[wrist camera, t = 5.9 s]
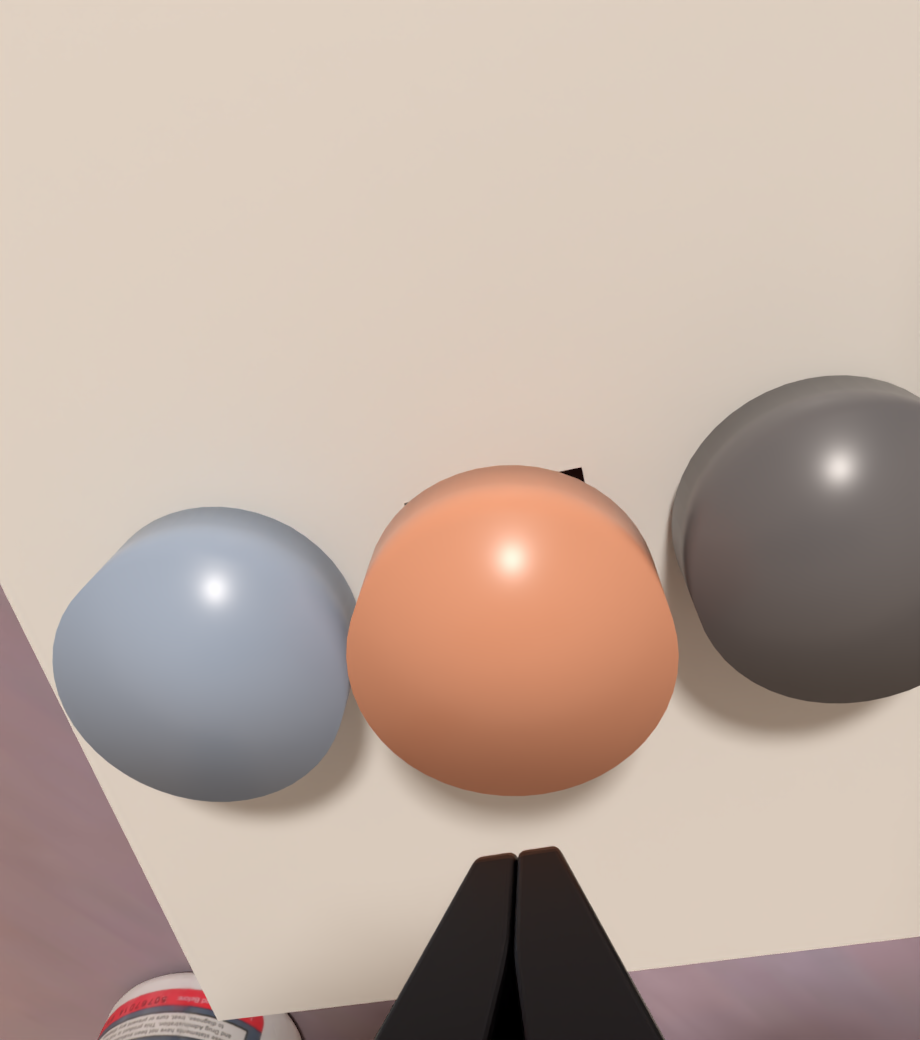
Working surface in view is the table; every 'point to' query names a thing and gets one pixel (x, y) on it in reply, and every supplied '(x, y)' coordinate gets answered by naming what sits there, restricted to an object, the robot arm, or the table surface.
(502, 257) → the panel
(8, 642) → the table surface
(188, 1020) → the pill bottle
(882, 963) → the table surface
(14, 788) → the table surface
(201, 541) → the slate button
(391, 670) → the terracotta button
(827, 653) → the charcoal button
